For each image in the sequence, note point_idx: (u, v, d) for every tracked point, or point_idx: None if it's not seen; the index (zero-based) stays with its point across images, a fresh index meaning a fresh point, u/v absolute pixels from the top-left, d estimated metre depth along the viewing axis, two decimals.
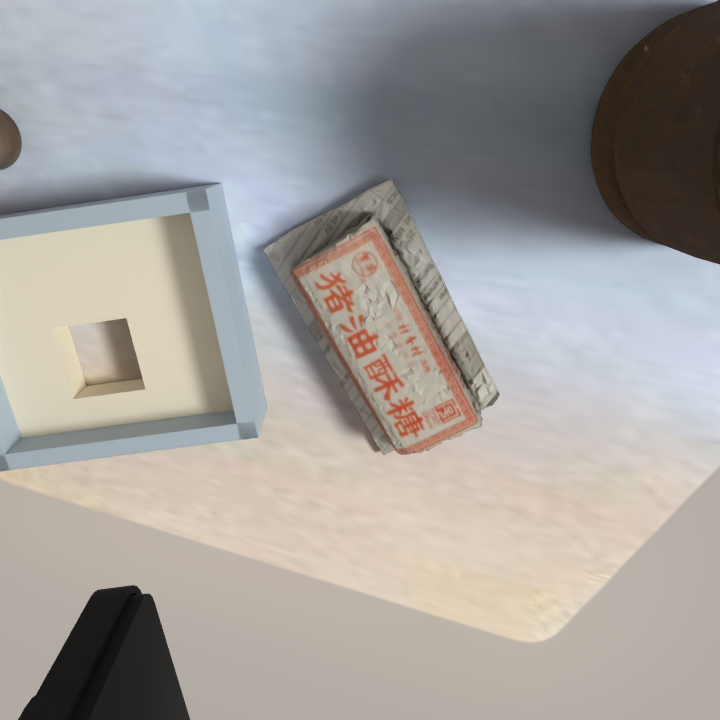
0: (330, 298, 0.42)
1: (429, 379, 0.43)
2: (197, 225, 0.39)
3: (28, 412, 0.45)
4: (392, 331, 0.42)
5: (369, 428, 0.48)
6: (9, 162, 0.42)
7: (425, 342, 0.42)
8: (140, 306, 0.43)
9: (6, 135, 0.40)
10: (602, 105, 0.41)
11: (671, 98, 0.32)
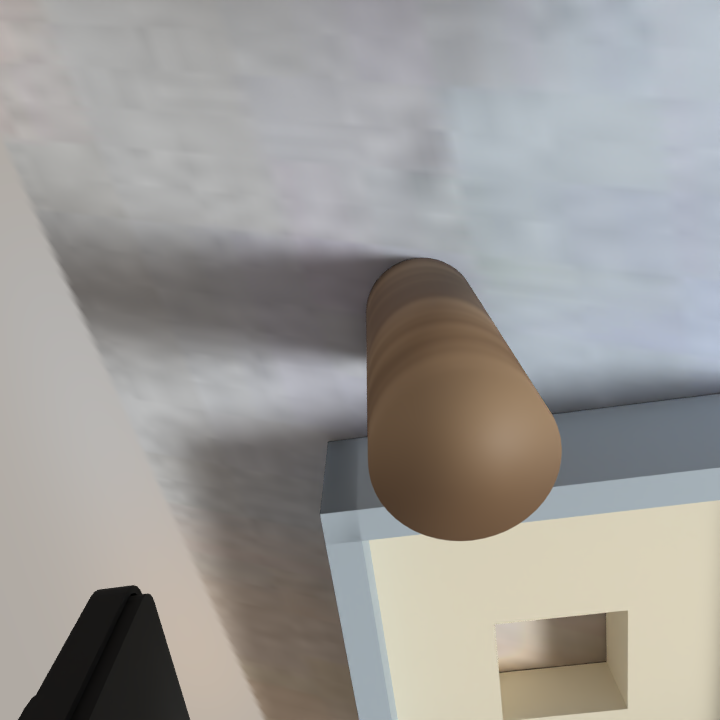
0: None
1: None
2: None
3: None
4: None
5: None
6: None
7: None
8: (658, 593, 0.25)
9: None
10: None
11: None
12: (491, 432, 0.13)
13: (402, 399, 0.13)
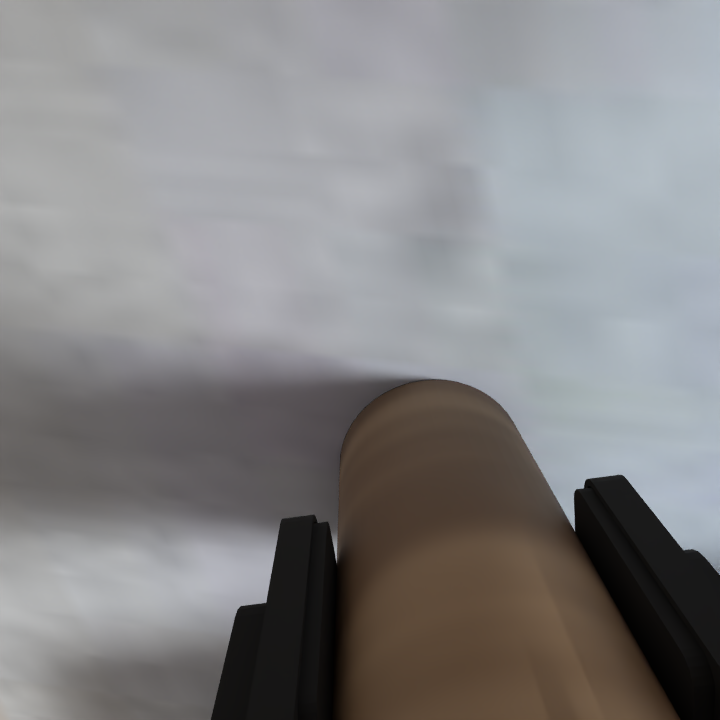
0: None
1: None
2: None
3: None
4: None
5: None
6: None
7: None
8: None
9: None
10: None
11: None
12: None
13: None
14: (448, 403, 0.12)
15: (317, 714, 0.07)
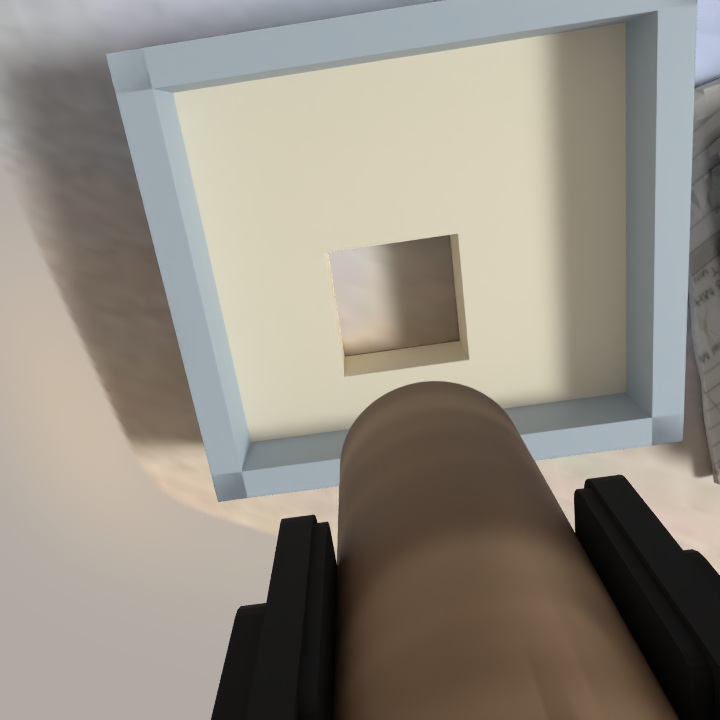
0: None
1: None
2: (666, 37, 0.20)
3: (267, 399, 0.27)
4: None
5: (715, 438, 0.30)
6: None
7: None
8: (487, 212, 0.24)
9: None
10: None
11: None
12: None
13: None
14: (448, 404, 0.12)
15: (317, 714, 0.07)
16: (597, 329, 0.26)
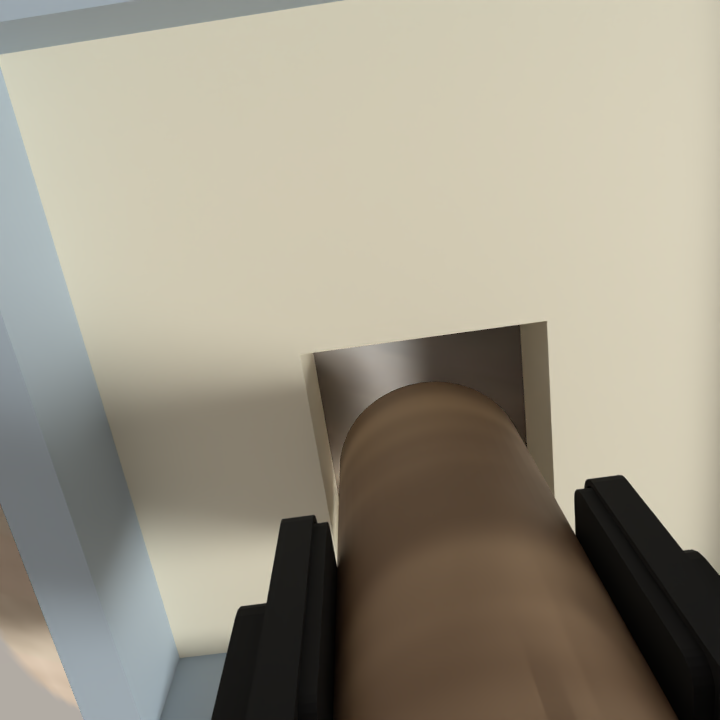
0: None
1: None
2: None
3: (204, 594, 0.16)
4: None
5: None
6: None
7: None
8: (602, 282, 0.13)
9: None
10: None
11: None
12: None
13: None
14: (448, 405, 0.12)
15: (317, 714, 0.07)
16: None
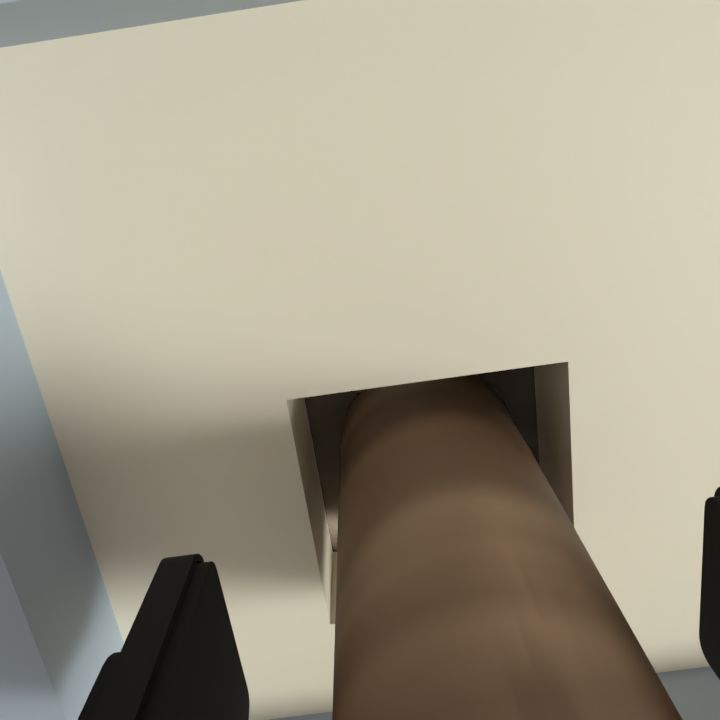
0: None
1: None
2: None
3: None
4: None
5: None
6: None
7: None
8: (632, 318, 0.11)
9: None
10: None
11: None
12: None
13: None
14: (441, 382, 0.13)
15: None
16: None
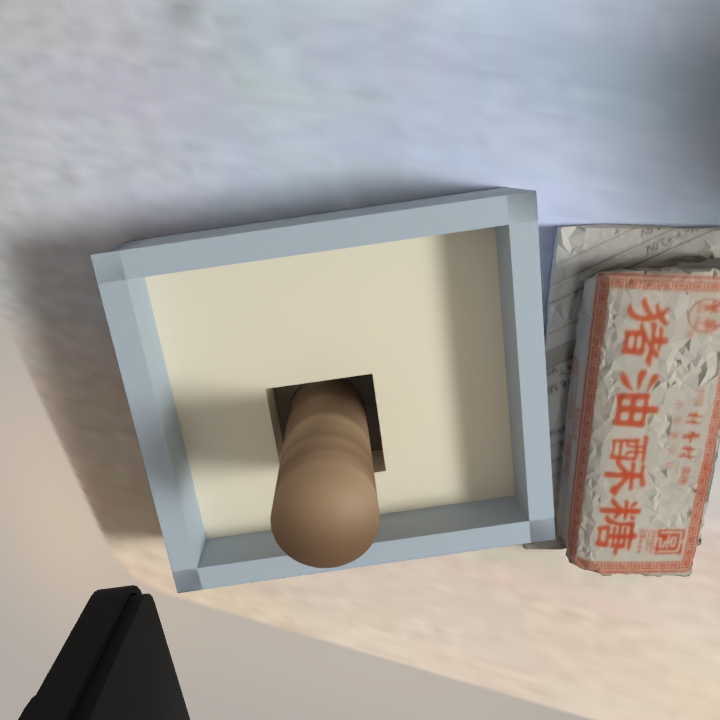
0: (635, 334, 0.29)
1: (676, 493, 0.32)
2: (516, 243, 0.27)
3: (220, 504, 0.33)
4: (679, 414, 0.30)
5: None
6: None
7: (704, 447, 0.31)
8: (394, 357, 0.31)
9: None
10: None
11: None
12: (339, 504, 0.23)
13: (288, 487, 0.23)
14: (329, 383, 0.32)
15: None
16: (488, 446, 0.32)
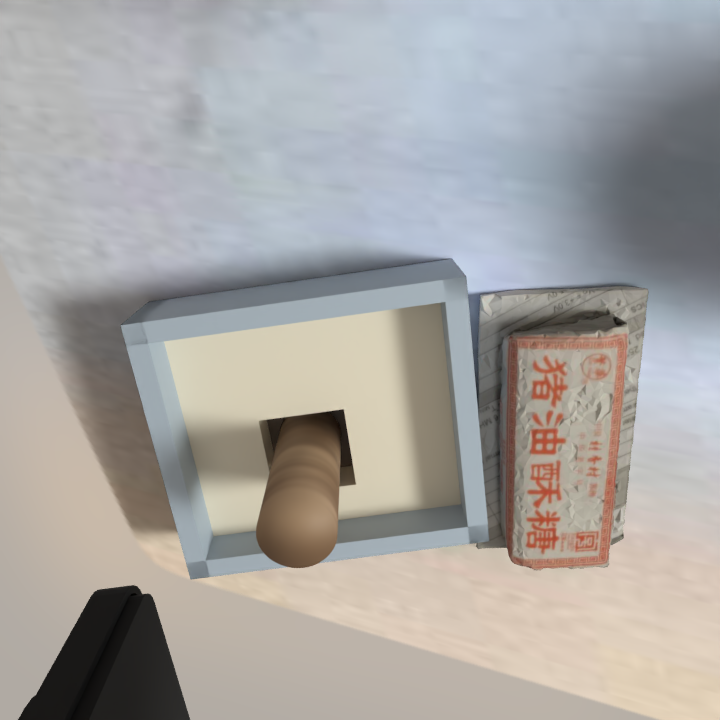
0: (541, 383, 0.37)
1: (588, 503, 0.39)
2: (452, 315, 0.34)
3: (223, 509, 0.41)
4: (583, 443, 0.38)
5: None
6: None
7: (606, 467, 0.38)
8: (361, 396, 0.38)
9: (340, 444, 0.40)
10: None
11: None
12: (306, 522, 0.31)
13: (268, 509, 0.31)
14: (310, 414, 0.40)
15: None
16: (438, 465, 0.40)
